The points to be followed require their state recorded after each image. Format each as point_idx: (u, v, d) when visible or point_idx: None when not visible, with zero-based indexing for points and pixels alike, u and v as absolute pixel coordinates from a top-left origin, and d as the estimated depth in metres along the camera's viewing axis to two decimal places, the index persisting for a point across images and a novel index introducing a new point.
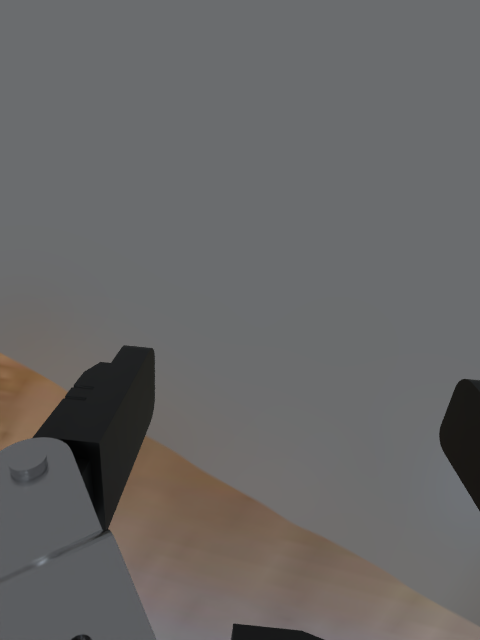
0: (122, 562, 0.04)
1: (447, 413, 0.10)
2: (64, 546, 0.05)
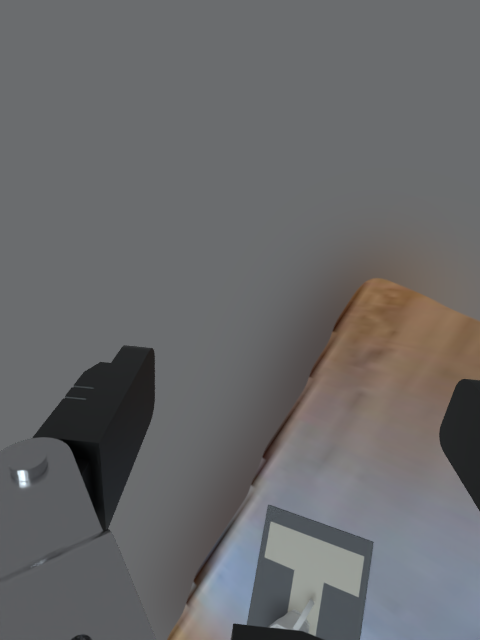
0: (122, 562, 0.04)
1: (447, 413, 0.10)
2: (64, 546, 0.05)
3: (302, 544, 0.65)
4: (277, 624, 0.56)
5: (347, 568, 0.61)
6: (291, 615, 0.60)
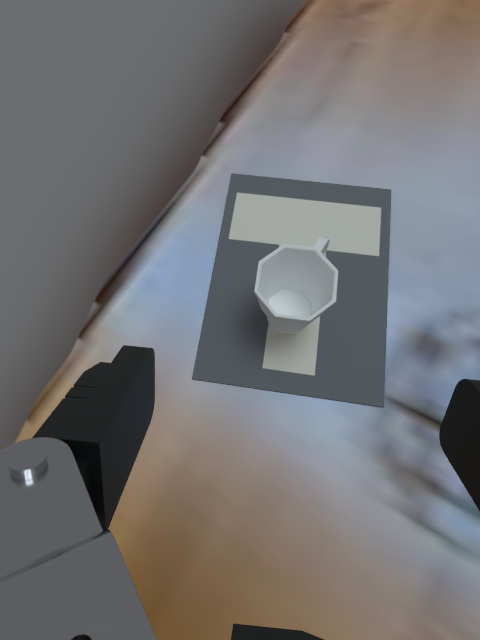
0: (122, 562, 0.04)
1: (447, 413, 0.10)
2: (64, 546, 0.05)
3: (289, 211, 0.42)
4: (285, 245, 0.32)
5: (359, 225, 0.41)
6: None
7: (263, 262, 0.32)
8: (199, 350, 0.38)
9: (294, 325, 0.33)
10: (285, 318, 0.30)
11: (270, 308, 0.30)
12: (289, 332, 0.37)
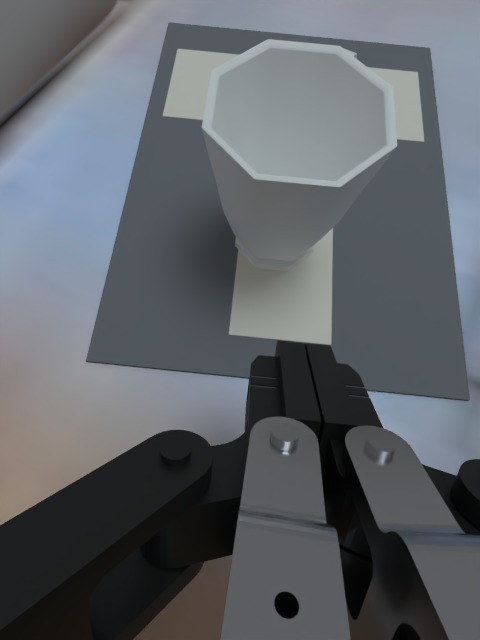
0: (339, 560, 0.04)
1: None
2: (293, 517, 0.05)
3: None
4: (271, 42, 0.14)
5: None
6: None
7: (222, 73, 0.14)
8: (103, 305, 0.19)
9: (295, 224, 0.15)
10: (279, 186, 0.12)
11: (242, 161, 0.12)
12: (278, 266, 0.20)
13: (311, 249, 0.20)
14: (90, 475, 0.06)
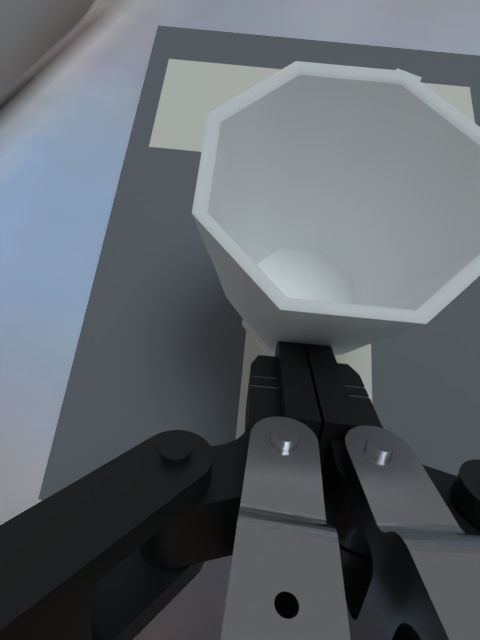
0: (339, 560, 0.04)
1: None
2: (293, 517, 0.05)
3: None
4: (301, 66, 0.09)
5: None
6: None
7: (226, 118, 0.09)
8: (64, 414, 0.14)
9: (336, 341, 0.10)
10: (321, 316, 0.07)
11: (259, 276, 0.07)
12: None
13: None
14: (90, 475, 0.06)
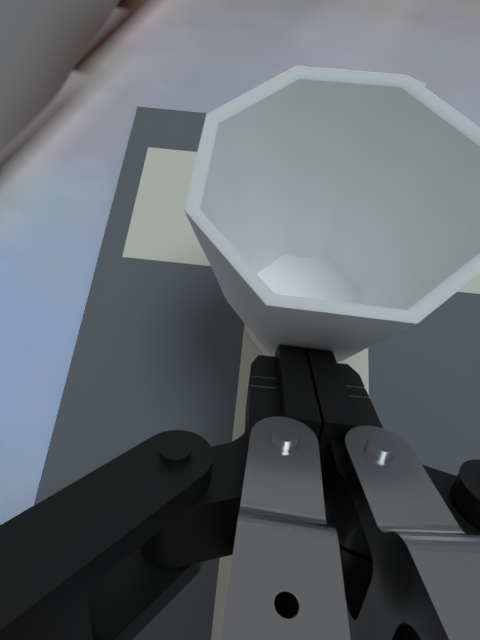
0: (339, 560, 0.04)
1: None
2: (293, 517, 0.05)
3: None
4: (301, 70, 0.09)
5: None
6: None
7: (224, 119, 0.09)
8: None
9: (331, 345, 0.10)
10: (309, 314, 0.07)
11: (246, 271, 0.07)
12: None
13: None
14: (90, 475, 0.06)
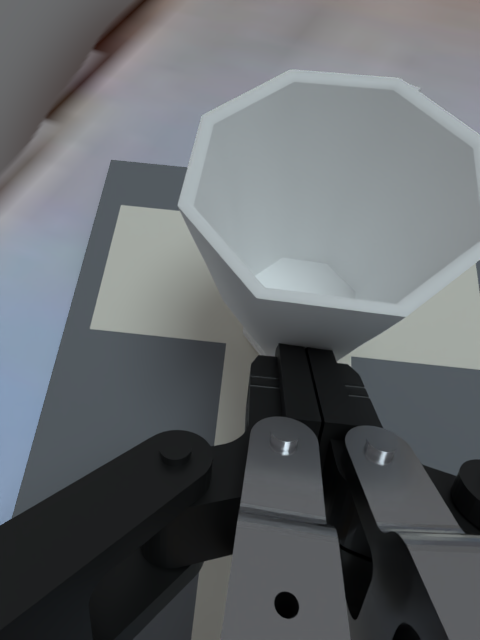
0: (339, 560, 0.04)
1: None
2: (293, 517, 0.05)
3: None
4: (295, 73, 0.10)
5: None
6: None
7: (219, 120, 0.09)
8: None
9: (325, 342, 0.10)
10: (299, 307, 0.07)
11: (237, 265, 0.07)
12: None
13: None
14: (90, 475, 0.06)
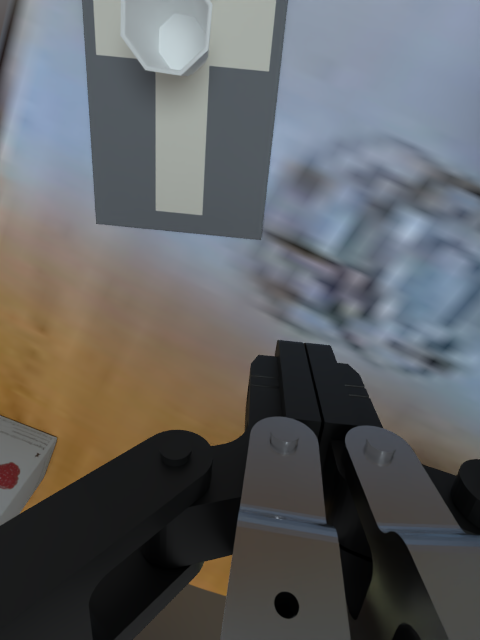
0: (339, 560, 0.04)
1: None
2: (293, 517, 0.05)
3: None
4: None
5: (248, 24, 0.34)
6: None
7: None
8: (96, 196, 0.41)
9: None
10: (157, 71, 0.29)
11: (139, 59, 0.28)
12: None
13: (205, 60, 0.35)
14: (90, 475, 0.06)
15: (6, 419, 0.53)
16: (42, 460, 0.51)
